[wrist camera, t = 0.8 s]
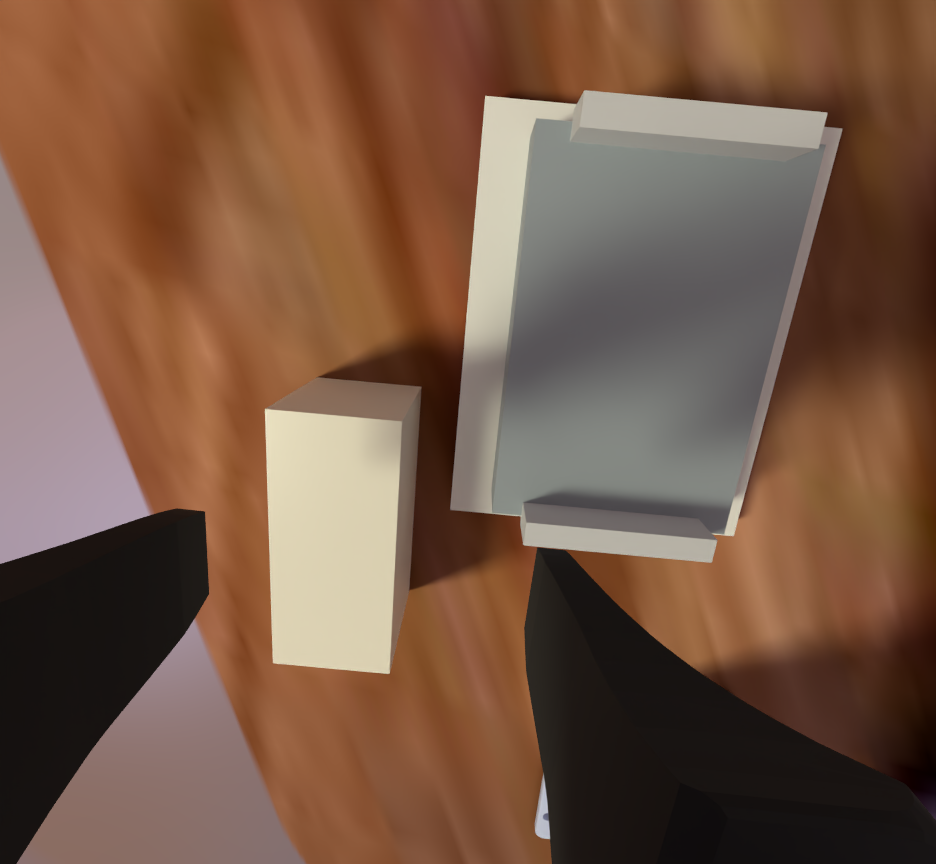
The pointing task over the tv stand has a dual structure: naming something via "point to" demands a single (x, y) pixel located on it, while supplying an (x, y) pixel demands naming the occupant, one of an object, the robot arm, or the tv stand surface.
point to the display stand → (630, 313)
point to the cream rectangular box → (341, 521)
